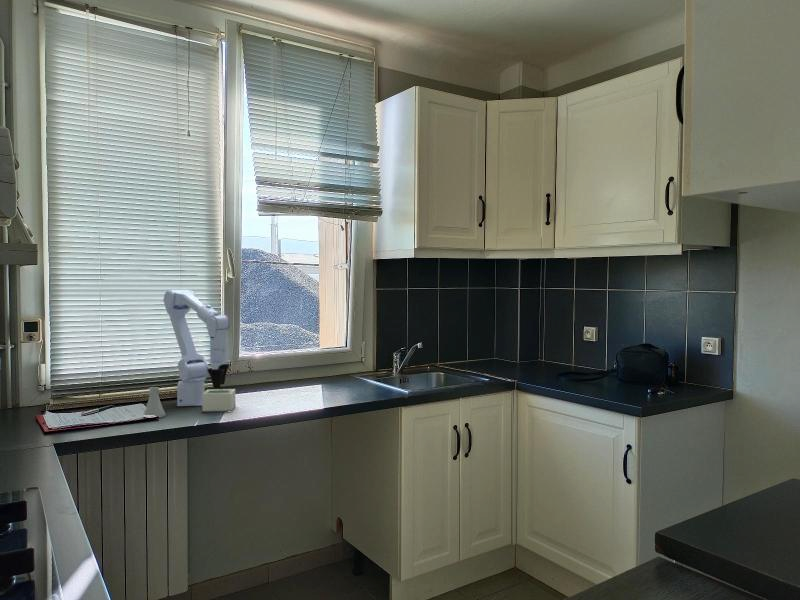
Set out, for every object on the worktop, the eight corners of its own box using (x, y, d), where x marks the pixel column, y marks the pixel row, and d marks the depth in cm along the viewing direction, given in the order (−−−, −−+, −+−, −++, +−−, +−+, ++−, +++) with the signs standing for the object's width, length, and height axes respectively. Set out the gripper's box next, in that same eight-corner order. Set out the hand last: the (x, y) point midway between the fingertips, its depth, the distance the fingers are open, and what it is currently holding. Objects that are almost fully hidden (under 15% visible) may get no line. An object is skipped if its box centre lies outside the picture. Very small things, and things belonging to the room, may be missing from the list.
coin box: (202, 412, 211) (202, 394, 211) (207, 407, 220) (207, 389, 219) (231, 411, 212) (231, 393, 212) (235, 406, 221) (235, 389, 220)
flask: (159, 413, 210) (158, 385, 210) (169, 416, 206) (169, 387, 205) (138, 417, 205) (138, 388, 204) (149, 420, 200) (149, 390, 200)
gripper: (226, 351, 208) (226, 390, 209) (233, 346, 223) (233, 382, 223) (205, 351, 207) (206, 390, 208) (213, 346, 222) (214, 382, 222)
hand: (219, 386), depth 216 cm, fingers open, 7 cm apart
